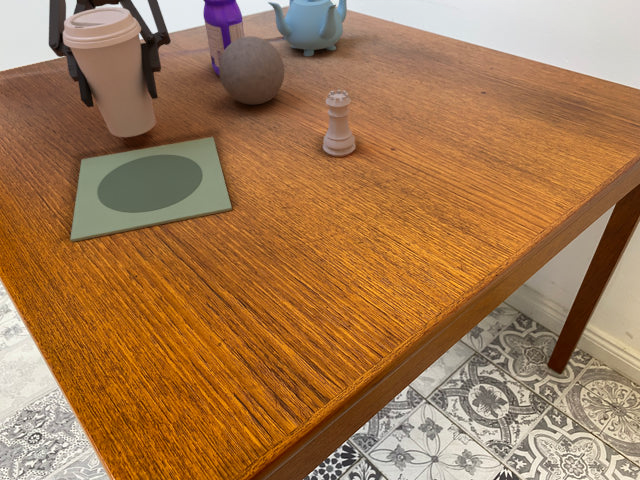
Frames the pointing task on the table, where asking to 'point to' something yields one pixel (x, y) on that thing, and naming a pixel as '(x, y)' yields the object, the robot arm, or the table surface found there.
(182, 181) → the mat
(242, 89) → the decorative ball
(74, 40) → the coffee cup
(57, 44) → the robot arm
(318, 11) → the teapot
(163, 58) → the table surface
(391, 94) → the table surface
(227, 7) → the bottle
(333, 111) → the rook chess piece
